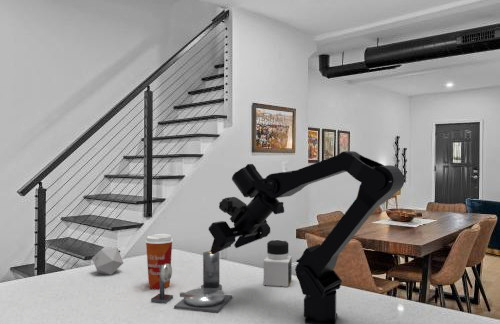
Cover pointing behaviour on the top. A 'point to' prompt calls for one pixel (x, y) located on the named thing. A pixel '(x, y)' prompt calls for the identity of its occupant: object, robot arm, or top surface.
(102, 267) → the die
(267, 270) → the medicine bottle
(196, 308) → the turntable base
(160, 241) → the paper cup
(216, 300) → the platter
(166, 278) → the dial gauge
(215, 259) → the cylinder with brass cap
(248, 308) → the top surface
